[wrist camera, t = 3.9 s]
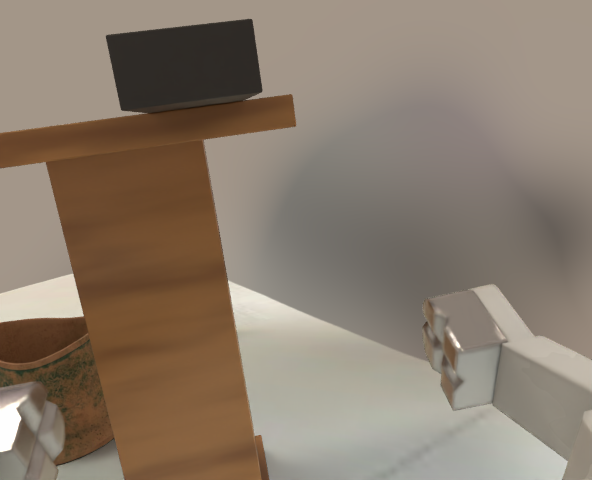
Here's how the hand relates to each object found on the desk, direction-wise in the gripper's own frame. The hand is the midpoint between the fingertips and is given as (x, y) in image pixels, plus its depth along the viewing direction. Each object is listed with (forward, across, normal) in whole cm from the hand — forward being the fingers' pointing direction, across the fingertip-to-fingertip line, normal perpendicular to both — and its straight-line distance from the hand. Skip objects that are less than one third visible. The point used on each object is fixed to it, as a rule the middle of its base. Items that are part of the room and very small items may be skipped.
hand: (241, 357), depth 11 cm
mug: (+25, +17, +32) cm, 44 cm away
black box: (+18, +1, +1) cm, 18 cm away
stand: (+12, +6, +27) cm, 31 cm away
